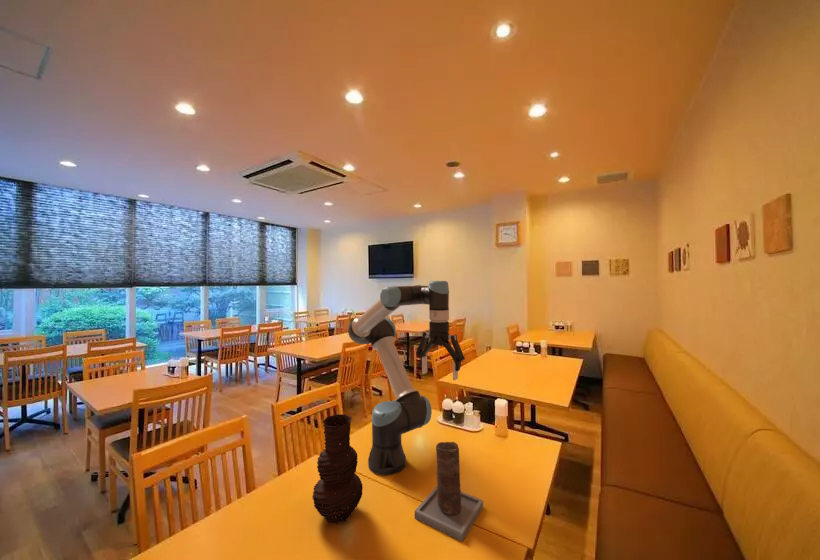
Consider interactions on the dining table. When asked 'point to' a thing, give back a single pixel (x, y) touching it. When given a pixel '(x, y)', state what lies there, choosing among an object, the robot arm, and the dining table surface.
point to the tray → (449, 515)
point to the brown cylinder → (448, 477)
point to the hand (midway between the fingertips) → (439, 376)
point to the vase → (337, 472)
